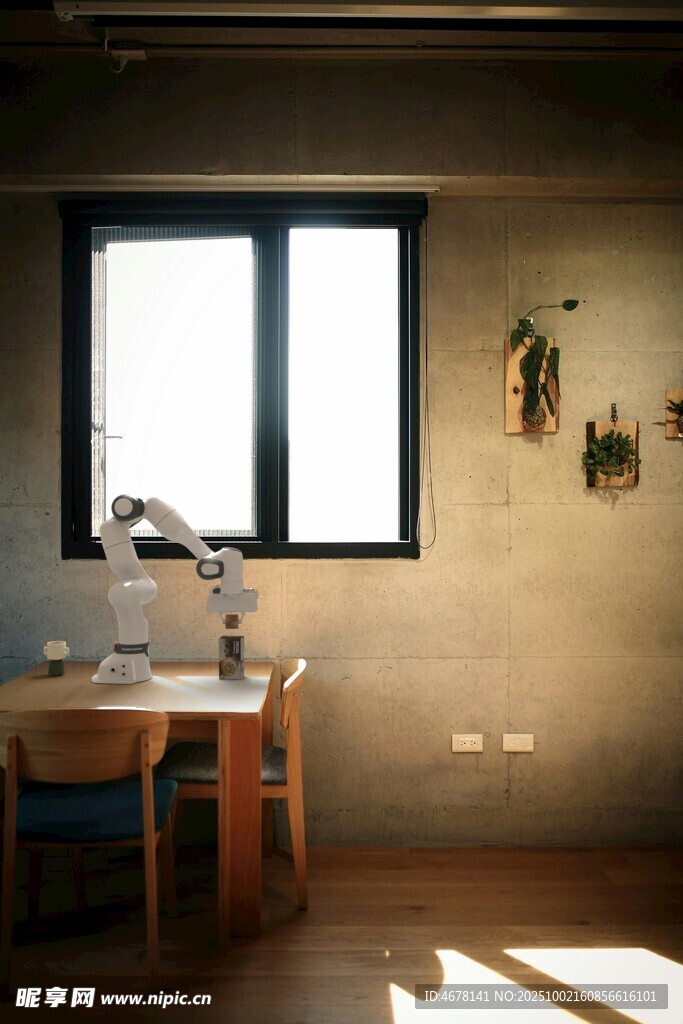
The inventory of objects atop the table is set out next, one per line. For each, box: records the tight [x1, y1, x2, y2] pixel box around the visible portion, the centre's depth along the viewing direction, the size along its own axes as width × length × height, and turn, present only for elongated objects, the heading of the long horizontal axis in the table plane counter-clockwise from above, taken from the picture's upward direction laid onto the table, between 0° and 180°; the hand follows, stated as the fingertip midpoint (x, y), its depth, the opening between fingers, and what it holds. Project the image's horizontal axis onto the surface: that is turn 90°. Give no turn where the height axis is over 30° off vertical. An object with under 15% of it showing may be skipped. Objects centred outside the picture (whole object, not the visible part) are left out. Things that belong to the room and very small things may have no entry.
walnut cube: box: [224, 613, 239, 630], centre depth 298 cm, size 5×5×5 cm
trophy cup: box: [43, 640, 70, 676], centre depth 300 cm, size 11×7×13 cm, turn 80°
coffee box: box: [218, 635, 245, 680], centre depth 298 cm, size 9×6×16 cm
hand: (231, 623), depth 298 cm, fingers closed on walnut cube, 5 cm apart
